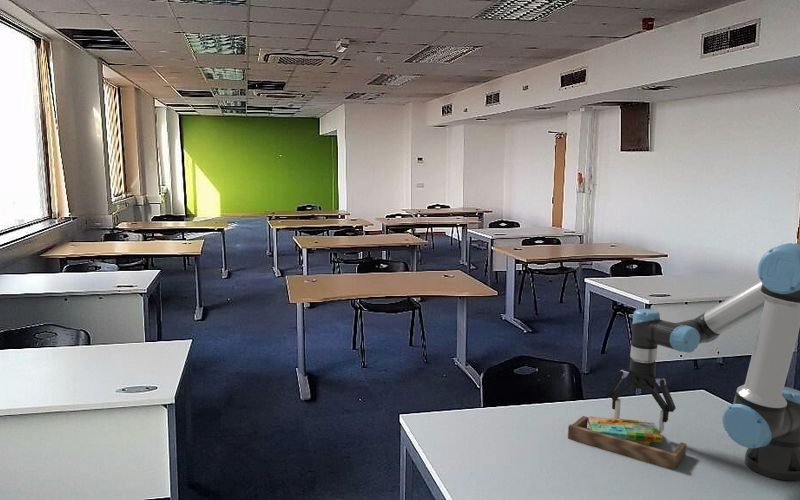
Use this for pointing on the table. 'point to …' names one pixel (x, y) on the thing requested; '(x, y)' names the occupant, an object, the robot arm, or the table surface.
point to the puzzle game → (626, 429)
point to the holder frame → (625, 445)
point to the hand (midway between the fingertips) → (638, 425)
